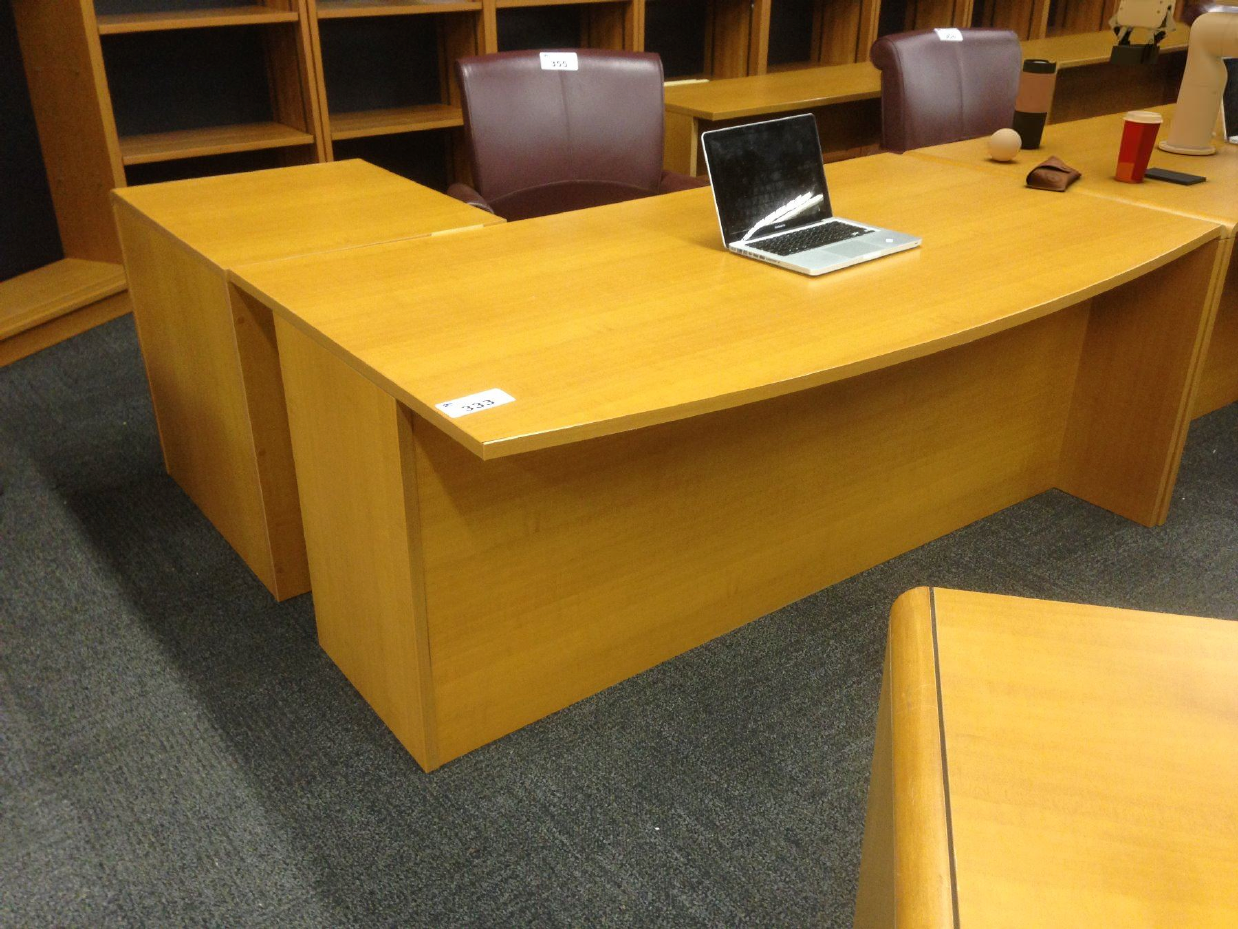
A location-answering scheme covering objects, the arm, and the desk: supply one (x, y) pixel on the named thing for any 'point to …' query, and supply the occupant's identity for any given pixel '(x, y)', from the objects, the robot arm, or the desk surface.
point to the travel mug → (1033, 101)
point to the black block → (1130, 55)
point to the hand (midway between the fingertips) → (1133, 61)
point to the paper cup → (1137, 145)
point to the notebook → (1173, 176)
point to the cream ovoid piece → (1004, 145)
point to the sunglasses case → (1052, 175)
